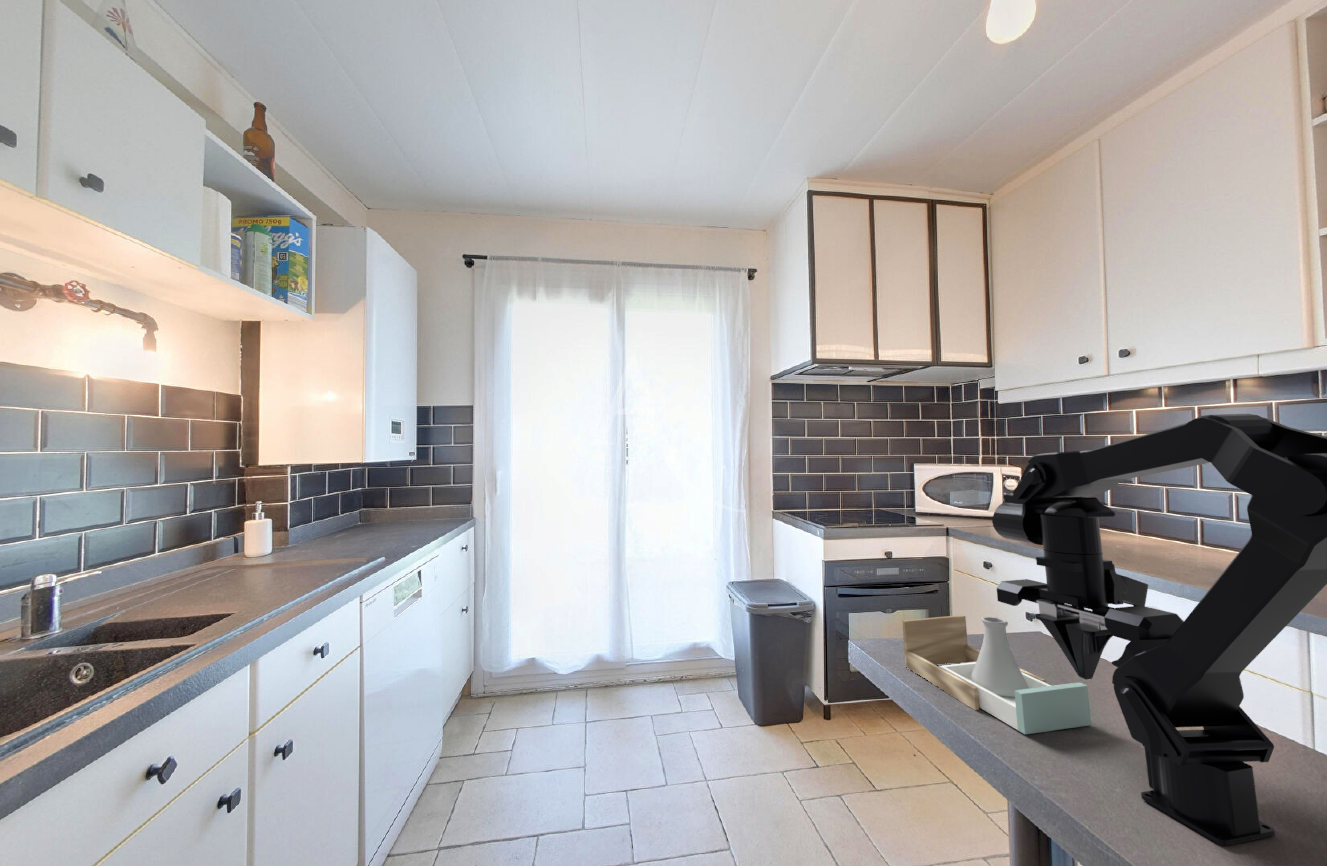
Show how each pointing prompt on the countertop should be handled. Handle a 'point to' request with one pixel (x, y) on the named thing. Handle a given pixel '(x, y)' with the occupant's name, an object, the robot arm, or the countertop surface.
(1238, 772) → the robot arm
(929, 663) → the dock
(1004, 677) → the flask
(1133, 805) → the countertop surface
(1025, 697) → the tray
